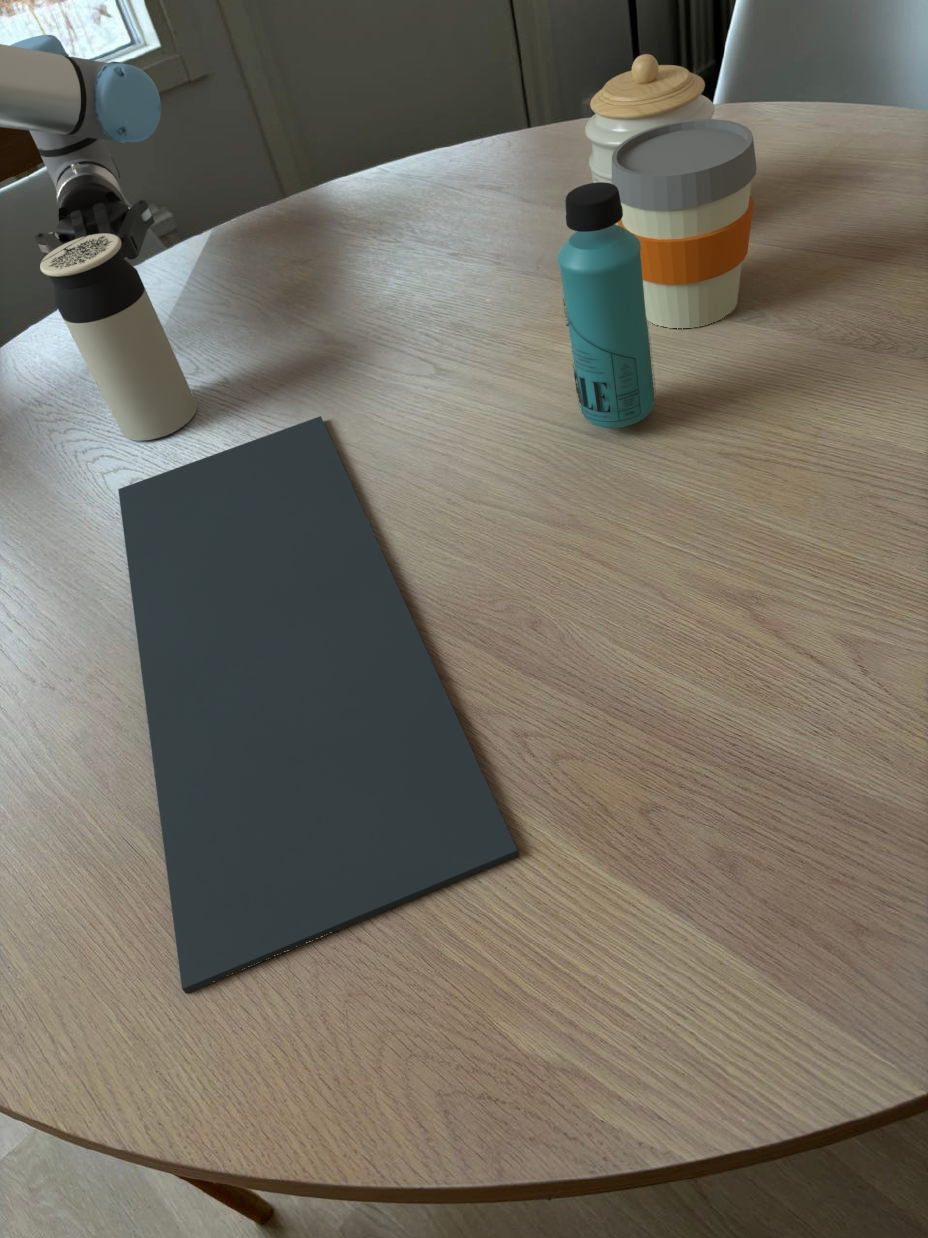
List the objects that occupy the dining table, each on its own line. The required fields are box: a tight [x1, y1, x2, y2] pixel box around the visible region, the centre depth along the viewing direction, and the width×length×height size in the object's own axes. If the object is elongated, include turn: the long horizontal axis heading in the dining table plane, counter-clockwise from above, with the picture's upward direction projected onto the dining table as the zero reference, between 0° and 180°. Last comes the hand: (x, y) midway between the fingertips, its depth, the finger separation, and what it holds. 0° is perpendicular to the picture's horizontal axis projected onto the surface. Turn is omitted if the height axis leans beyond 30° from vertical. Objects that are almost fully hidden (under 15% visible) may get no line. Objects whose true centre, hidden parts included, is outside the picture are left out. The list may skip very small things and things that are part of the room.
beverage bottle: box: [557, 182, 657, 429], centre depth 80 cm, size 6×7×20 cm
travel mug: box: [39, 233, 198, 441], centre depth 97 cm, size 8×8×18 cm
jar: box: [584, 53, 715, 225], centre depth 105 cm, size 13×13×18 cm
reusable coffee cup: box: [612, 118, 758, 330], centre depth 93 cm, size 13×13×15 cm
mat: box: [117, 416, 520, 994], centre depth 76 cm, size 20×53×1 cm, turn 19°
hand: (104, 282), depth 100 cm, fingers closed
